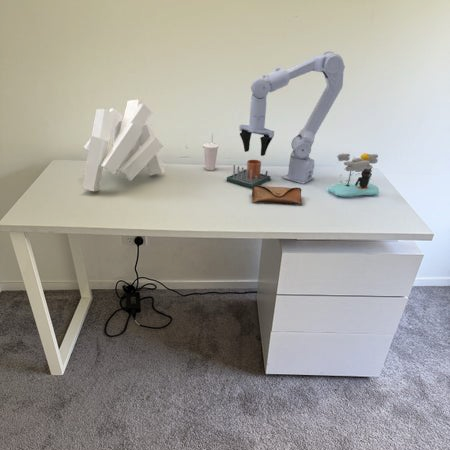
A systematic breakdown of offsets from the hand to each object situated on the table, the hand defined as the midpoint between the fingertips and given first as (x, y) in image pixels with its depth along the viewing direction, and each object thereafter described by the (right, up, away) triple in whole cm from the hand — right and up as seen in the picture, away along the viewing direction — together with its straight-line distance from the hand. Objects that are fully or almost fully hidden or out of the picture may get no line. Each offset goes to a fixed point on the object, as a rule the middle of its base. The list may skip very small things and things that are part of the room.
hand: (254, 153), depth 150 cm
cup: (-1, -9, +2) cm, 9 cm away
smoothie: (-18, -2, +12) cm, 22 cm away
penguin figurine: (+37, -17, -4) cm, 41 cm away
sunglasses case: (+7, -22, -13) cm, 26 cm away
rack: (-2, -10, +2) cm, 11 cm away
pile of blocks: (-50, -11, -1) cm, 51 cm away
